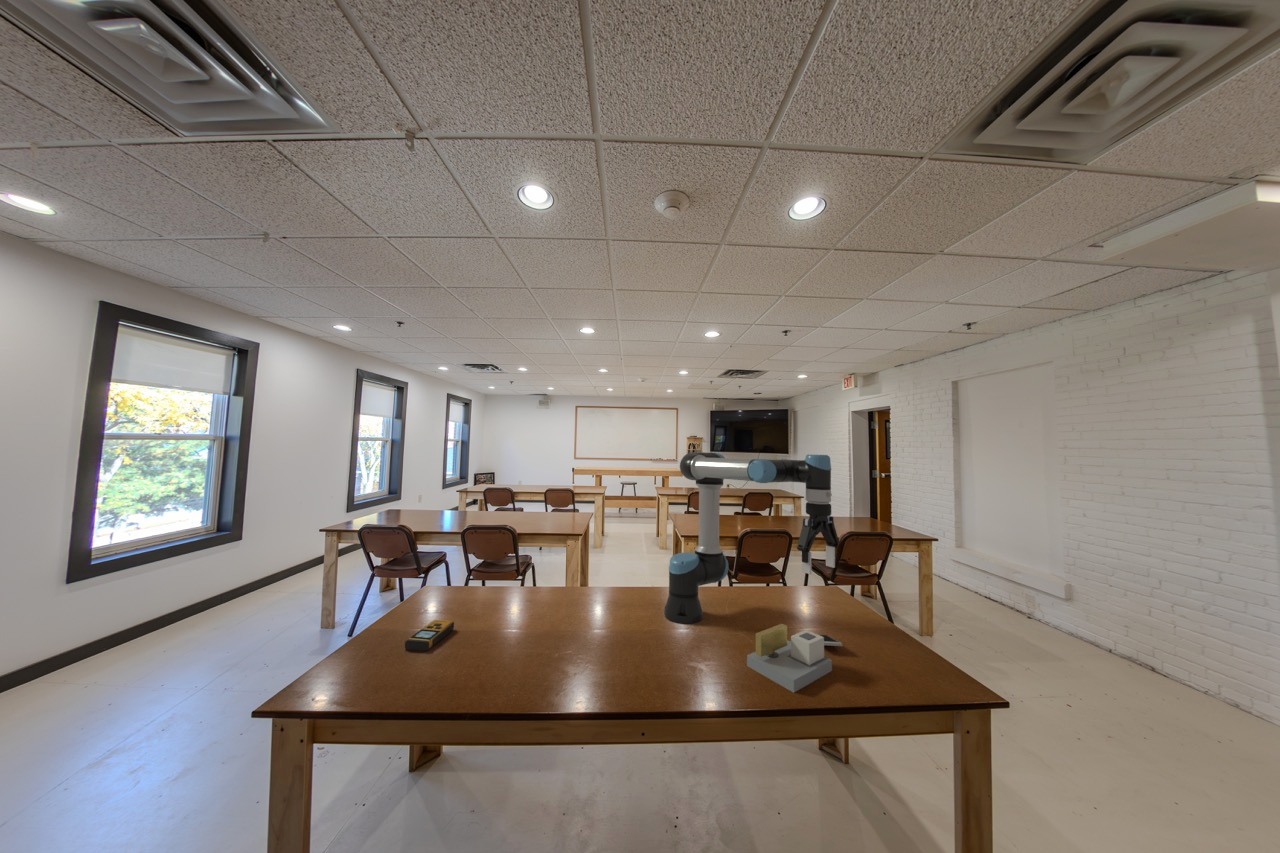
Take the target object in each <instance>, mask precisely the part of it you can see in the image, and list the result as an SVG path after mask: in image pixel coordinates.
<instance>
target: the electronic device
mask: <svg viewBox="0 0 1280 853" xmlns="http://www.w3.org/2000/svg"><path fill="white" fill-rule="evenodd" d="M454 629H455V621H453V620H443V619H434V620H432V621H430V622H429V623H428V624H427V625H425V626H424V627H422V628H421V629H420V630H418V631H417V632H416V633H414V634H413V635H412V636H410V637H409V638H408V639H407V640H405V641H404V649H405V650H406V651H414V652H427V651H429V649H430V648H432V647H433V646H435V645H436V644H437V643H439V641H441V640H442V639H443V638H444V637H446V636H447V635H448V634H449V633H450V632H451V631H453V630H454Z"/></svg>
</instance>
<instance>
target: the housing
mask: <svg viewBox="0 0 1280 853" xmlns="http://www.w3.org/2000/svg"><path fill="white" fill-rule="evenodd" d="M746 666H747V667H748V668H750V669H752V670H753V671H755V672H757V673H758V674H761V675H762V676H763V677H765V678H767V679H769V680H771V681H772V682H774V683H776V684H778V685H780V686H781V687H783V688H785V689H787V691H790V692H792V693H795V692H798V691H799V690H801V689H803V688H804V687H807V686H808V685H810V684H811V683H814V682H815V681H817V680H818V679H820V678H822V677H823V676H824V677H825V675H827V674H829V673H830V672H832V671H833V660H832V659H830V658H828V657H826V655H824V658H822V659H820V660H818V661H816V662H814V663H812V664H811V665H808V664H806V663H804V662H802V661H800V660H798V659H796V658H793V657H791V640H788V639H787V646H785V647H783V648H780V649H778V650H776V651H775V654H774V655H771V654H767V655H764V656H762V657H760V656H758V655H756V651H753V652H750V653H749V654H747V655H746Z"/></svg>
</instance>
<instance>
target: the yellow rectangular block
mask: <svg viewBox="0 0 1280 853" xmlns="http://www.w3.org/2000/svg"><path fill="white" fill-rule="evenodd" d="M787 640H788V625H786V624H783V623H779V624H777V625H775V626H772V627H768V628H767V629H764V630H761V631H759V632H755V652H756V655H758V656H760V657H762V656H764V655H767V654H771V655H774V654H775V651H776V650H778V649H780V648H783V647H785V646H787Z"/></svg>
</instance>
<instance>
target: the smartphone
mask: <svg viewBox="0 0 1280 853" xmlns="http://www.w3.org/2000/svg"><path fill="white" fill-rule="evenodd" d="M819 635H820V636H822V637H824V646H832V647H833V646H834V647H843V642H840V641H839V640H836V639H834V638H832V637H831V636H829V635H827V634H819Z"/></svg>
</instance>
